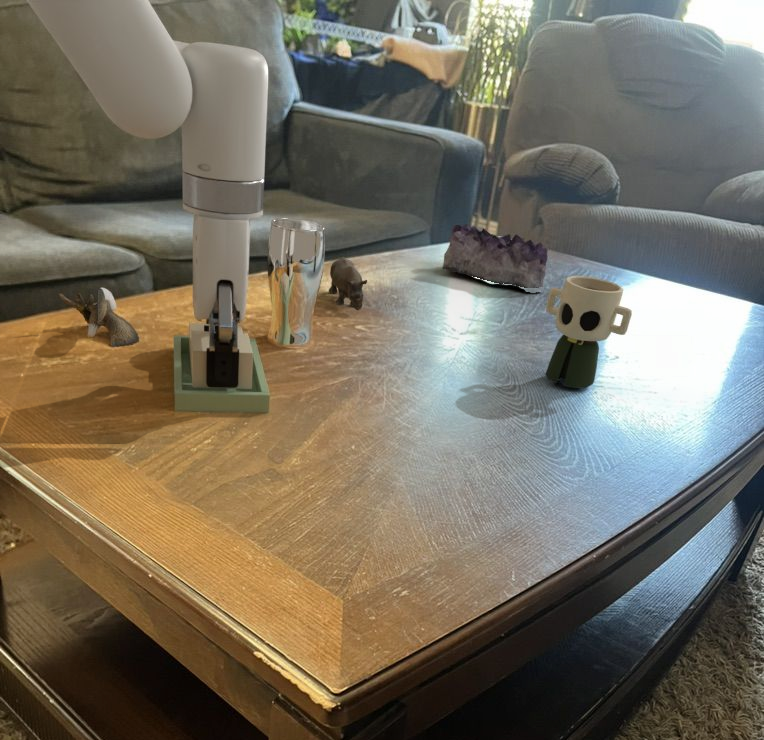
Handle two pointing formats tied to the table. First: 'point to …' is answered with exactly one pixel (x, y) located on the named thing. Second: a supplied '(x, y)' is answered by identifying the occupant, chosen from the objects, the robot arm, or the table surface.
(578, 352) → the character mug
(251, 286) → the table surface
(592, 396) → the table surface
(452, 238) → the geode
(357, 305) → the rhino figurine
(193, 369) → the light grey rectangular block
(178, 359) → the frame tray
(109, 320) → the deer head bust
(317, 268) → the beer glass
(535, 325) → the table surface
